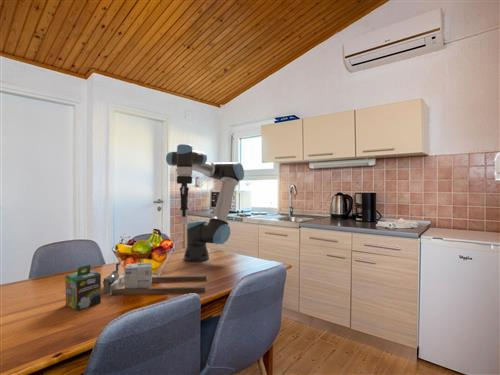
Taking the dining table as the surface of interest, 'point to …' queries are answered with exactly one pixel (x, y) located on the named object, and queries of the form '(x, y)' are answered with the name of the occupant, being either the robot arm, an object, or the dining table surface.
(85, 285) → the chalk box
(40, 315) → the dining table surface
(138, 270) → the light bulb box
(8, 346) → the dining table surface
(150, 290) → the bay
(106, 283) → the winch
